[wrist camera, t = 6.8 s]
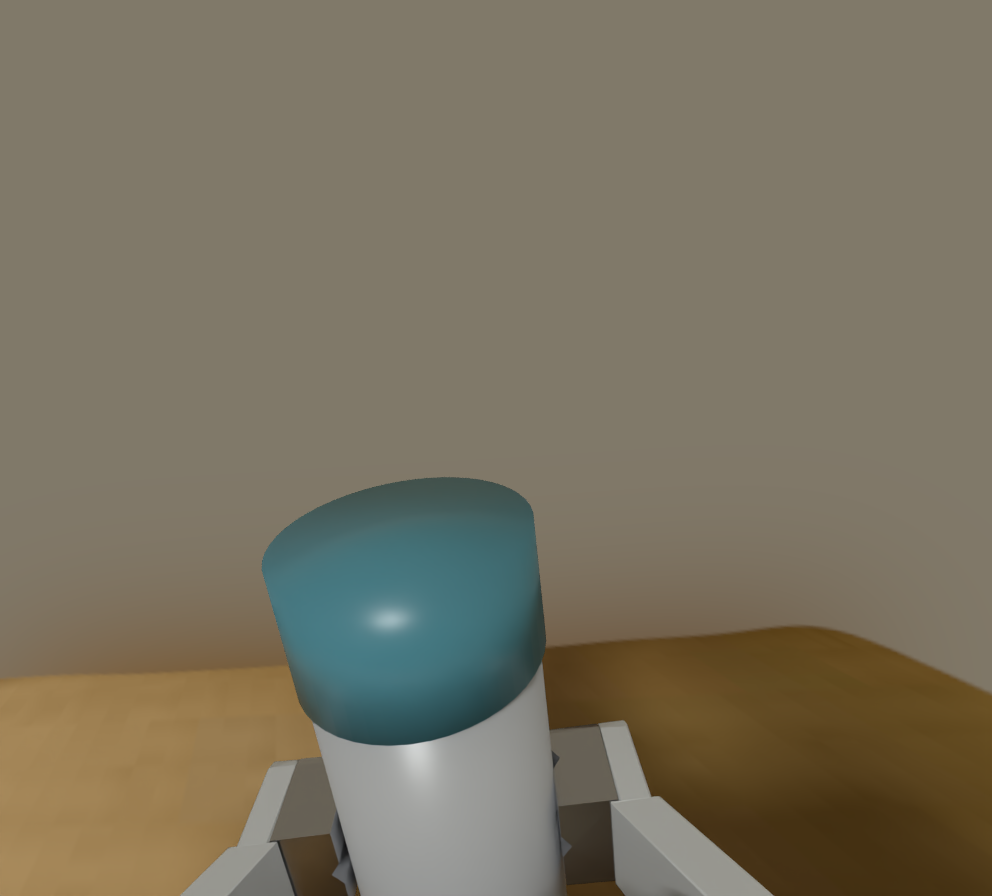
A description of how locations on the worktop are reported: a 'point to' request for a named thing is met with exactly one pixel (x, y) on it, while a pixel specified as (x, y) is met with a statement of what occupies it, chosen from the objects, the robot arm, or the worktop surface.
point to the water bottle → (426, 683)
